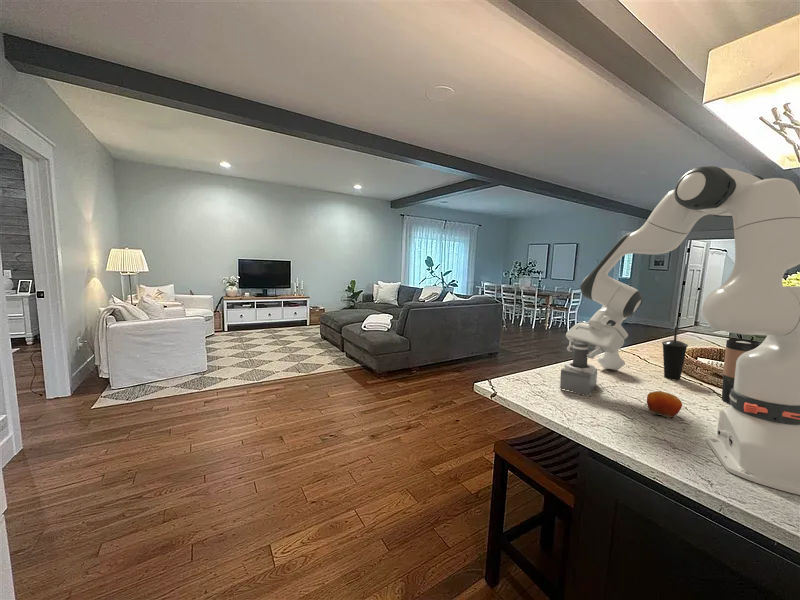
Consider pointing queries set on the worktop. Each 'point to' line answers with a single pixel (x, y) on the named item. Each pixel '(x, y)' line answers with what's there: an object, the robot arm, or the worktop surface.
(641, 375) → the worktop surface
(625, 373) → the worktop surface
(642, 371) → the worktop surface
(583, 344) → the lens
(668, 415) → the fruit
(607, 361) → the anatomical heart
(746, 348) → the travel mug
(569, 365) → the grey block with hole
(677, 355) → the drinking cup
